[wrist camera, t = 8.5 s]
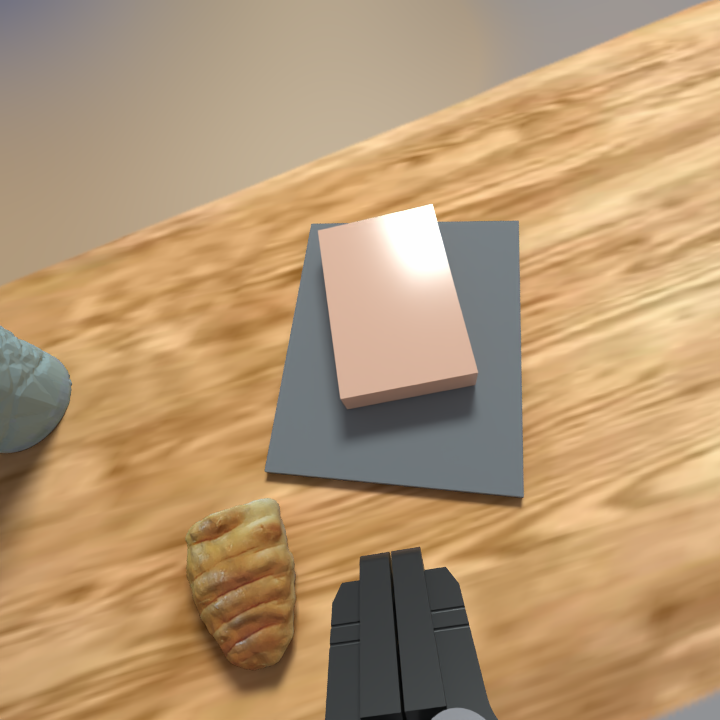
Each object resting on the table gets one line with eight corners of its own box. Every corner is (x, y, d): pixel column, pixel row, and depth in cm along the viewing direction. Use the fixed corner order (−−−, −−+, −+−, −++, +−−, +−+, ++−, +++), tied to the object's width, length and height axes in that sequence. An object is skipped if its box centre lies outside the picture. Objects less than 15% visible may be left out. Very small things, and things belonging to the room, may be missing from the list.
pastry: (325, 639, 27) (307, 653, 24) (223, 684, 27) (191, 704, 24) (279, 492, 31) (259, 485, 28) (190, 531, 31) (158, 529, 28)
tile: (478, 372, 29) (432, 204, 34) (340, 399, 29) (317, 230, 35) (475, 385, 31) (432, 226, 37) (347, 410, 32) (325, 250, 37)
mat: (267, 472, 32) (264, 471, 31) (313, 228, 39) (311, 223, 39) (522, 497, 28) (523, 496, 28) (517, 225, 36) (518, 220, 35)
